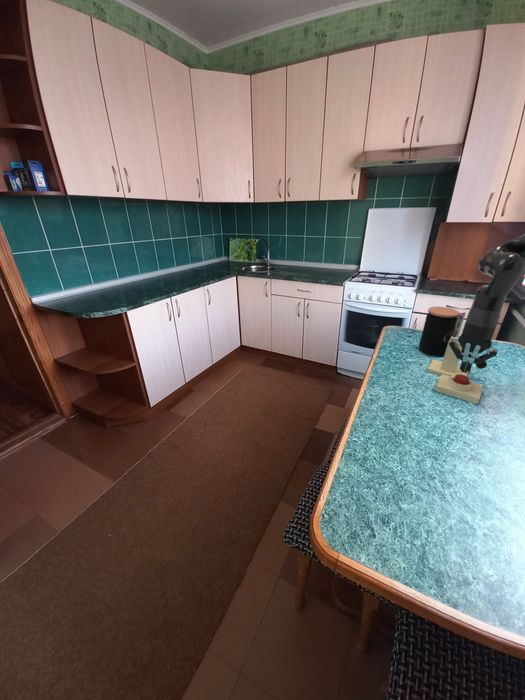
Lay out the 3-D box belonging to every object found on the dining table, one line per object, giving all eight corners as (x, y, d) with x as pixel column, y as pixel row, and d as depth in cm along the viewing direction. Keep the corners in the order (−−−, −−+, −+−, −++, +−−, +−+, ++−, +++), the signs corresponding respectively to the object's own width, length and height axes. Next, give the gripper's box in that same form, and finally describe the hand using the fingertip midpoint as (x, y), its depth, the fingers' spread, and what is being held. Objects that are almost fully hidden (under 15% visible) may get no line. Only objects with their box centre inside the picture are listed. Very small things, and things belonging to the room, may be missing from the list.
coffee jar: (443, 359, 116) (455, 317, 107) (414, 352, 122) (424, 311, 114) (449, 350, 123) (462, 310, 114) (422, 343, 129) (432, 304, 121)
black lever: (482, 368, 102) (490, 362, 99) (481, 371, 99) (489, 366, 97) (449, 343, 105) (456, 337, 103) (447, 346, 103) (455, 340, 101)
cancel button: (468, 381, 95) (470, 376, 94) (467, 386, 92) (468, 382, 92) (454, 377, 97) (456, 372, 97) (452, 382, 95) (454, 378, 94)
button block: (480, 391, 96) (484, 381, 94) (477, 404, 90) (481, 393, 88) (440, 379, 103) (443, 369, 101) (434, 390, 97) (437, 380, 95)
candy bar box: (423, 343, 129) (432, 308, 122) (427, 340, 132) (436, 305, 125) (451, 351, 122) (463, 314, 114) (454, 347, 125) (466, 311, 118)
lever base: (468, 371, 107) (479, 340, 102) (464, 382, 101) (476, 349, 95) (432, 362, 114) (440, 332, 108) (426, 371, 108) (435, 340, 102)
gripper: (453, 320, 87) (438, 370, 95) (509, 330, 79) (488, 383, 87) (457, 313, 92) (443, 361, 100) (510, 322, 84) (490, 373, 92)
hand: (464, 371), depth 93 cm, fingers closed
